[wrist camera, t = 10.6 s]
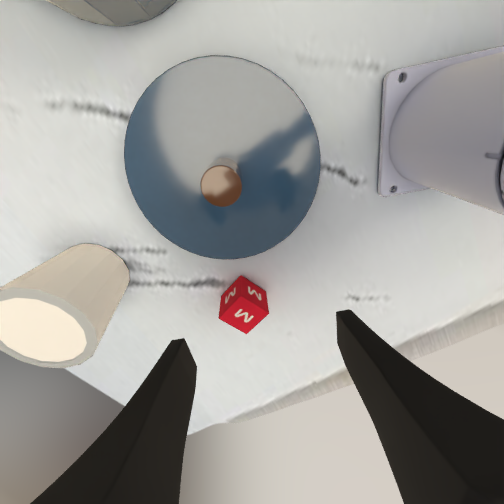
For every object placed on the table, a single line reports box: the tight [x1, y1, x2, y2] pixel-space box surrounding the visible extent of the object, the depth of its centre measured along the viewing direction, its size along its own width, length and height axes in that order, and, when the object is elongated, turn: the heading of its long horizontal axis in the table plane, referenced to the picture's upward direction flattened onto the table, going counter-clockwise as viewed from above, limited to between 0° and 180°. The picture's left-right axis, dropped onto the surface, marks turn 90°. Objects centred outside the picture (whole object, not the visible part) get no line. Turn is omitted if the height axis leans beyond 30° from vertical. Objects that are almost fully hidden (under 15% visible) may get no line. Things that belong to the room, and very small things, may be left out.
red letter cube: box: [219, 275, 269, 334], centre depth 22 cm, size 3×3×3 cm
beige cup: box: [0, 243, 130, 368], centre depth 19 cm, size 7×7×7 cm
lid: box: [124, 55, 320, 259], centre depth 16 cm, size 13×13×4 cm
